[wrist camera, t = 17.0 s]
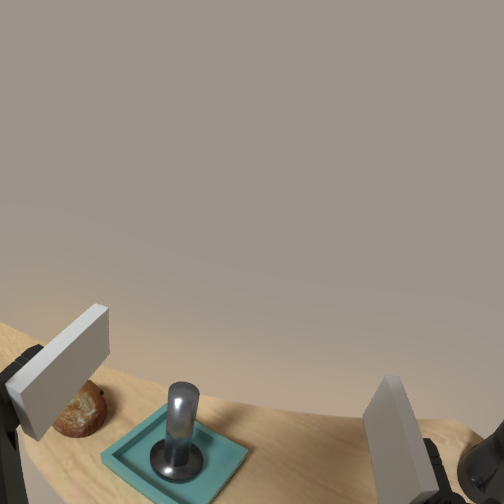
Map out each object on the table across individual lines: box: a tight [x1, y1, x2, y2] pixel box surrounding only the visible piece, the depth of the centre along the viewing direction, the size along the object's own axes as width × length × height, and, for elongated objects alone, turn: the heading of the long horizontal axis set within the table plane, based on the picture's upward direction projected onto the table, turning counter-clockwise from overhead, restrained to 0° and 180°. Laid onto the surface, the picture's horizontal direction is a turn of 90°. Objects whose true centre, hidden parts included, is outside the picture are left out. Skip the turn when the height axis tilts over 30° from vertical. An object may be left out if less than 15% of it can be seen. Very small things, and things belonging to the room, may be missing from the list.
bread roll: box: [52, 380, 107, 438], centre depth 37 cm, size 10×10×8 cm
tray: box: [100, 403, 249, 504], centre depth 34 cm, size 14×14×2 cm
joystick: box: [150, 382, 204, 484], centre depth 32 cm, size 7×7×14 cm
